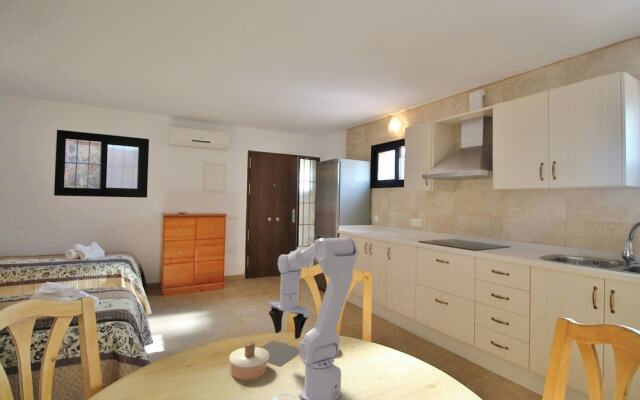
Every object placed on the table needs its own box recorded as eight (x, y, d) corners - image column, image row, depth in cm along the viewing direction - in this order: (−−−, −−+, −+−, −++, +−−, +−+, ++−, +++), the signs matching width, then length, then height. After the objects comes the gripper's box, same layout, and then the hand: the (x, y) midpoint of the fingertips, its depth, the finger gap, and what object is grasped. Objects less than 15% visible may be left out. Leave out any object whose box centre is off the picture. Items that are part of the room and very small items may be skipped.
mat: (304, 351, 114) (304, 349, 114) (280, 367, 102) (280, 366, 102) (272, 341, 121) (272, 340, 121) (246, 356, 109) (246, 354, 109)
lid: (277, 354, 102) (277, 341, 102) (251, 371, 92) (252, 357, 92) (247, 345, 108) (248, 333, 108) (220, 360, 98) (221, 346, 98)
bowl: (273, 368, 102) (273, 355, 102) (249, 384, 92) (249, 370, 92) (247, 359, 107) (247, 347, 107) (222, 373, 98) (222, 360, 98)
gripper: (315, 293, 104) (313, 335, 103) (278, 285, 111) (277, 325, 111) (303, 298, 97) (301, 343, 97) (265, 290, 105) (263, 332, 105)
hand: (287, 334), depth 104 cm, fingers open, 7 cm apart
